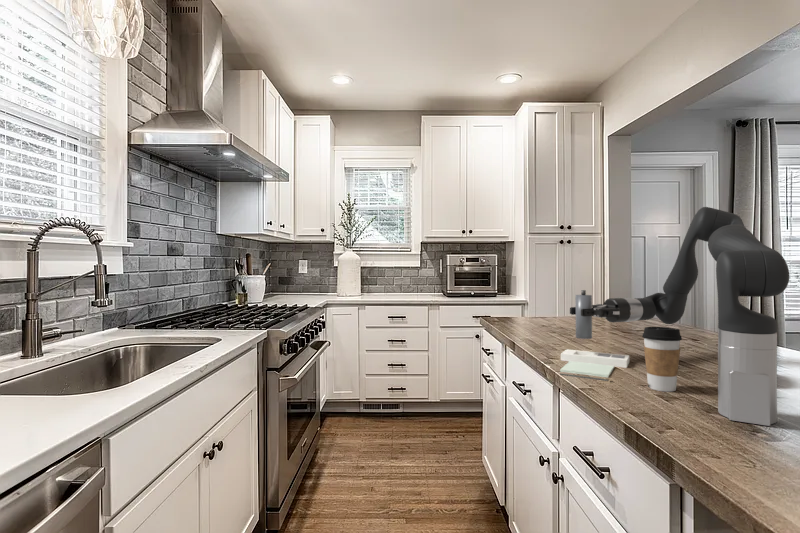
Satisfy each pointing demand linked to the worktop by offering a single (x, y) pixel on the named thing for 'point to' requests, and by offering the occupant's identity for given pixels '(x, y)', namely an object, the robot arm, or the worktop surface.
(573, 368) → the pad
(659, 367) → the coffee cup
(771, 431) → the worktop surface
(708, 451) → the worktop surface
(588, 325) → the grey bottle
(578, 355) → the power strip
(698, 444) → the worktop surface
